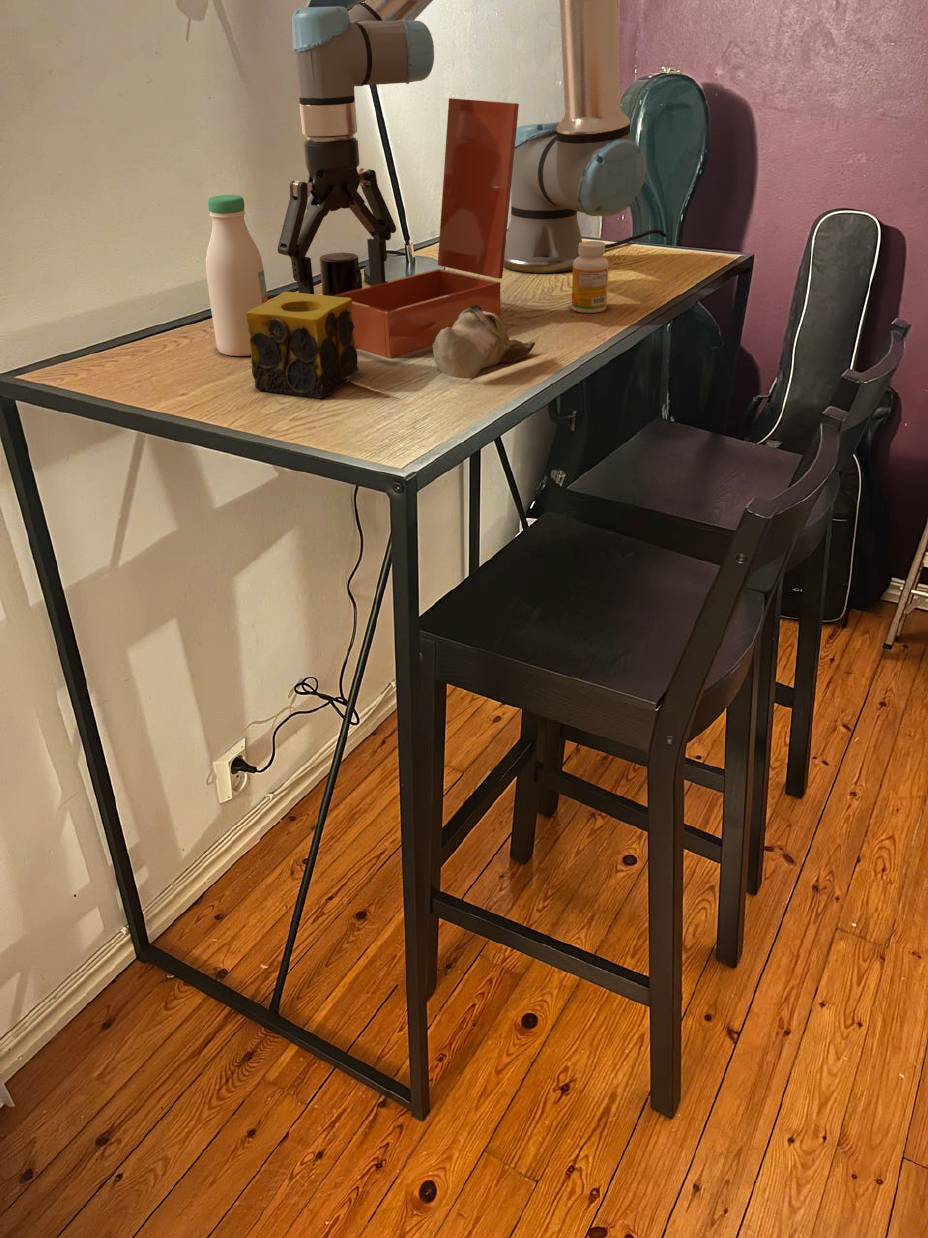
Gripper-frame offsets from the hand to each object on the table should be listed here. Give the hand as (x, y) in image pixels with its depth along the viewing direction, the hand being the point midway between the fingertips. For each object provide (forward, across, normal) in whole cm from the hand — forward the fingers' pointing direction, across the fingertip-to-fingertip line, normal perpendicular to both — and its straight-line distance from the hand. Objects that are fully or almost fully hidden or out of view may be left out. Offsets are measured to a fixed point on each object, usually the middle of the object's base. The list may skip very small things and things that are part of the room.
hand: (343, 293), depth 151 cm
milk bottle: (+4, +18, 0) cm, 19 cm away
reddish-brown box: (+4, -2, +14) cm, 15 cm away
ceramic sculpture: (+4, +3, +30) cm, 31 cm away
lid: (-14, -14, +14) cm, 24 cm away
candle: (+4, +21, +18) cm, 28 cm away
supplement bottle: (+5, -30, +23) cm, 38 cm away
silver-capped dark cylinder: (+4, 0, 0) cm, 4 cm away
